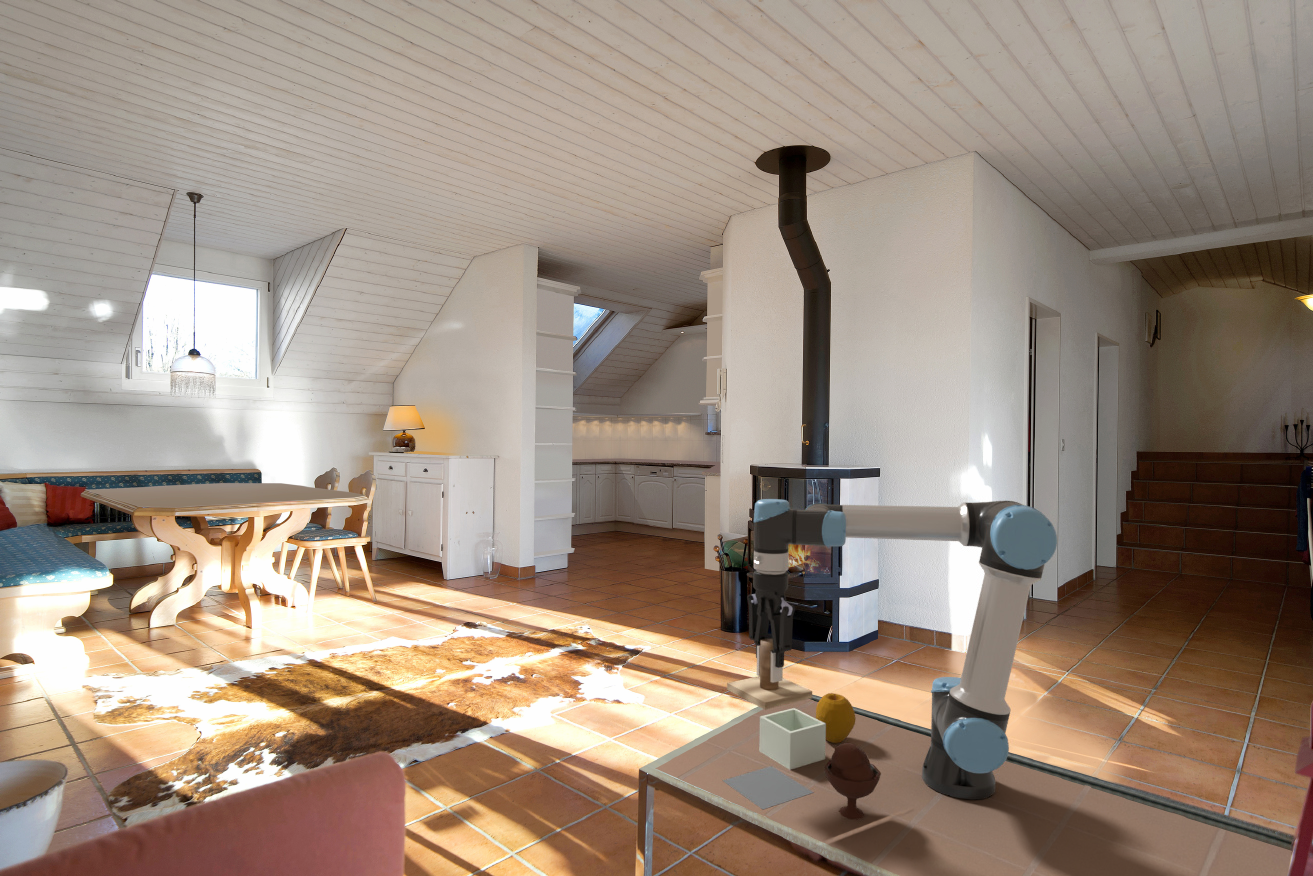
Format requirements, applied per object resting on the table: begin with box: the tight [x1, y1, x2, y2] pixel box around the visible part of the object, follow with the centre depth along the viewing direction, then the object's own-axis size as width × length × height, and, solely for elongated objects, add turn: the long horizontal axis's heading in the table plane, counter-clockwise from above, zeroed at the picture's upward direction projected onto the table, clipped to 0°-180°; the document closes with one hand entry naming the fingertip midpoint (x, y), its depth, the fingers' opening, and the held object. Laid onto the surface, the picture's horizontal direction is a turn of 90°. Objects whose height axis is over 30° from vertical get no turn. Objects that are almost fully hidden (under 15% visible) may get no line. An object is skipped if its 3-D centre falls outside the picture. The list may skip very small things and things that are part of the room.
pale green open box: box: [758, 707, 827, 771], centre depth 175 cm, size 11×11×9 cm
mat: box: [722, 765, 815, 810], centre depth 160 cm, size 14×14×1 cm
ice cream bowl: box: [823, 742, 882, 821], centre depth 149 cm, size 11×11×15 cm
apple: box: [815, 692, 856, 744], centre depth 185 cm, size 10×10×12 cm
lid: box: [726, 638, 813, 710], centre depth 159 cm, size 13×13×12 cm
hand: (769, 677), depth 159 cm, fingers closed on lid, 4 cm apart
